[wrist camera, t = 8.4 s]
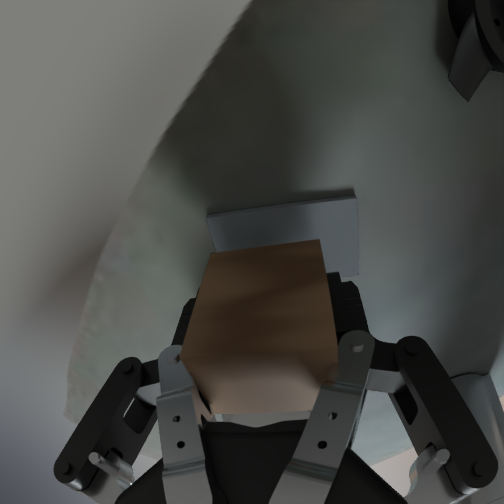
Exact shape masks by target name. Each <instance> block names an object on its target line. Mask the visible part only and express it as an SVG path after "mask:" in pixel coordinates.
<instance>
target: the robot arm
mask: <svg viewBox="0 0 504 504" xmlns="http://www.w3.org/2000/svg"><path fill="white" fill-rule="evenodd" d="M326 275H327V281H328V287H329V292H330V298H331V304H332V311H333V317H334V324H335V330H336V337H337V344H338V363H332V366H331V369H330V372H329V375H328V378H327V380H326V381H324V382H323V383H322V385H321V388H320V390H319V393H318V396H317V398H316V401H315V404H314V406H313V409H312V411H311V414H310V416H309V419H302V420H287V421H280V422H277V423H273V424H269V425H265V426H261V427H256V428H255V427H250V426H245V425H241V424H237V423H233V422H217V421H216V419H215V415H214V411H213V407H212V405H211V403H210V401H209V400H205V398H204V396H203V395H202V393H201V392H200V390H199V389H198V387H197V383H196V379H195V377H194V376H193V374H192V372H188V371H187V369H186V368H185V366H184V364H183V363H182V361H181V359H180V358H179V356H180V353H181V349H182V346H183V342H184V339H185V335H186V332H187V329H188V325H189V322H190V319H191V315H192V312H193V309H194V305H195V302H196V299H197V296H198V292H199V289H200V288H199V289H198V292H197V296H196V298H192V299H190V300H189V301H188V302H187V303H186V305H185V306H184V308H183V311H182V314H181V317H180V320H179V323H178V326H177V329H176V332H175V335H174V338H173V341H172V344H171V346H169V347H167V348H165V349H164V350H163V351H162V352H161V353H160V355H159V357H158V359H156V360H153V361H149V362H145V363H141V361H140V360H139V359H138V358H136V357H128V358H125V359H123V360H122V361H120V362H119V363H118V365H117V366H116V367H115V369H114V370H113V372H112V373H111V375H110V376H109V378H108V379H107V381H106V382H105V384H104V385H103V387H102V389H101V390H100V392H99V393H98V395H97V396H96V398H95V399H94V401H93V402H92V404H91V405H90V407H89V409H88V410H87V412H86V413H85V415H84V416H83V418H82V420H81V421H80V423H79V424H78V426H77V427H76V429H75V431H74V432H73V434H72V436H71V437H70V439H69V441H68V442H67V444H66V445H65V447H64V449H63V450H62V452H61V454H60V455H59V457H58V458H57V460H56V462H55V464H54V475H55V477H56V479H57V480H58V481H60V482H61V483H63V484H65V485H67V486H69V487H70V488H71V489H73V490H75V491H76V492H79V493H80V494H83V495H84V496H87V497H89V498H92V499H93V500H95V501H96V502H98V503H99V504H504V411H503V409H502V405H501V403H500V400H499V397H498V394H497V391H496V389H495V386H494V384H493V381H492V378H491V376H490V374H488V375H484V376H481V375H478V374H466V375H462V376H458V377H455V378H452V379H450V377H449V375H448V374H447V372H446V371H445V369H444V368H443V366H442V365H441V363H440V362H439V360H438V359H437V357H436V356H435V354H434V353H433V351H432V350H431V348H430V347H429V345H428V344H427V343H426V341H425V340H423V339H422V338H420V337H417V336H407V337H404V338H402V339H400V340H399V341H398V342H397V344H396V343H387V342H382V341H379V340H377V339H376V338H374V337H373V336H372V335H371V333H370V332H369V329H368V325H367V320H366V316H365V312H364V309H363V305H362V301H361V298H360V293H359V290H358V287H357V286H356V285H355V284H354V283H353V282H352V281H348V282H341V278H340V274H339V271H338V272H330V273H326ZM368 390H372V391H379V392H387V393H388V395H389V397H390V399H391V401H392V403H393V405H394V407H395V409H396V411H397V413H398V415H399V417H400V419H401V421H402V423H403V425H404V427H405V429H406V431H407V433H408V436H409V438H410V440H411V442H412V444H413V446H414V448H415V450H416V453H417V455H418V458H417V459H416V460H415V461H414V463H413V464H412V466H411V468H410V472H409V477H410V481H411V486H410V490H409V492H408V494H407V495H406V496H405V497H402V496H401V495H400V494H399V493H397V491H395V490H394V489H393V488H392V487H391V486H390V485H389V484H388V483H386V482H385V481H384V480H383V479H382V478H381V477H380V476H379V475H378V474H377V473H376V472H375V471H374V470H372V469H371V468H370V467H369V466H368V465H367V464H366V463H365V462H364V461H363V460H362V459H361V458H360V457H359V456H358V455H357V454H356V453H355V452H354V451H353V450H352V449H351V448H352V445H353V442H354V439H355V435H356V432H357V428H358V424H359V420H360V417H361V413H362V409H363V406H364V402H365V398H366V395H367V391H368ZM133 398H134V401H133V403H132V404H131V406H130V408H129V410H128V411H127V413H126V415H125V416H124V413H125V411H126V410H127V408H128V406H129V404H130V403H131V401H132V399H133ZM123 416H124V418H123ZM157 419H158V425H159V433H160V441H161V449H162V456H163V457H162V458H161V459H160V460H159V461H158V462H157V463H156V464H155V465H153V466H152V467H151V468H150V469H149V470H148V471H147V472H145V473H144V474H143V475H142V476H141V477H140V478H139V479H137V480H136V481H135V482H134V477H133V469H132V465H133V463H134V461H135V460H136V458H137V456H138V454H139V452H140V450H141V448H142V447H143V445H144V443H145V441H146V439H147V437H148V435H149V434H150V432H151V430H152V428H153V426H154V424H155V422H156V421H157Z"/></svg>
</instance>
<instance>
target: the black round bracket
mask: <svg viewBox="0 0 504 504" xmlns="http://www.w3.org/2000/svg"><path fill="white" fill-rule="evenodd" d="M448 9H449V15H450V20H451V23H452V26H453V28H454V31H455V33H456V35H457V37H458V39H459V40H458V43H457V46H456V49H455V52H454V56H453V60H452V63H451V67H450V71H449V75H448V79H449V81H450V82H451V83H452V85H453V86H454V87H455V89H456V90H457V91H458V92H459V93H460V94H461V96H462V97H463V98H464V99H465V100H466V101H468V102H469V100H470V98H471V97H472V95H473V93H474V92H475V90H476V89H477V87H478V86H479V84H480V83H481V81H482V80H483V78H484V77H485V76H486V75H487V73H488V72H489V70H493V71H498V72H503V73H504V0H448Z"/></svg>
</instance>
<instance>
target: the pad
mask: <svg viewBox="0 0 504 504" xmlns="http://www.w3.org/2000/svg"><path fill="white" fill-rule="evenodd" d="M206 219H207V223H208V226H209V229H210V233H211V236H212V239H213V242H214V246H215V249H216V252H225V251H232V250H239V249H247V248H254V247H262V246H269V245H277V244H284V243H292V242H299V241H307V240H314V239H320V243H321V248H322V253H323V259H324V264H325V269H326V273H330V272H338V271H339V274H340V277H347V276H355V275H359V243H358V210H357V197H356V195H352V196H343V197H334V198H326V199H318V200H309V201H301V202H294V203H286V204H278V205H271V206H264V207H257V208H250V209H243V210H236V211H229V212H223V213H216V214H210V215H207V218H206Z"/></svg>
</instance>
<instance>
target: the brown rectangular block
mask: <svg viewBox="0 0 504 504" xmlns="http://www.w3.org/2000/svg"><path fill="white" fill-rule="evenodd" d="M179 358H180V359H181V361H182V363H183V364H184V366H185V368H186V369H187V371H188V372H192V374H193V376H194V377H195V379H196V383H197V387H198V389H199V390H200V392H201V393H202V395H203V396H204V398H205V400H209V401H210V403H211V405H212V407H213V411H214V413H215V414H251V413H276V412H292V411H305V410H312V409H313V406H314V404H315V401H316V398H317V396H318V393H319V390H320V388H321V385H322V383H323V382H324V381H326V380H327V378H328V375H329V372H330V369H331V366H332V363H338V344H337V337H336V330H335V324H334V317H333V311H332V304H331V298H330V292H329V287H328V281H327V275H326V269H325V264H324V259H323V253H322V248H321V243H320V239H314V240H307V241H299V242H292V243H284V244H277V245H269V246H262V247H254V248H247V249H239V250H232V251H225V252H217V253H211V254H210V257H209V260H208V264H207V267H206V270H205V273H204V276H203V279H202V283H201V286H200V289H199V292H198V296H197V299H196V302H195V305H194V309H193V312H192V315H191V319H190V322H189V325H188V329H187V332H186V335H185V339H184V342H183V346H182V349H181V353H180V356H179Z"/></svg>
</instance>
